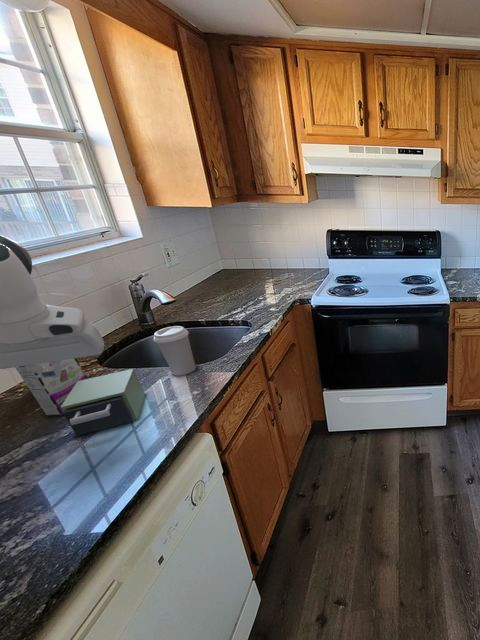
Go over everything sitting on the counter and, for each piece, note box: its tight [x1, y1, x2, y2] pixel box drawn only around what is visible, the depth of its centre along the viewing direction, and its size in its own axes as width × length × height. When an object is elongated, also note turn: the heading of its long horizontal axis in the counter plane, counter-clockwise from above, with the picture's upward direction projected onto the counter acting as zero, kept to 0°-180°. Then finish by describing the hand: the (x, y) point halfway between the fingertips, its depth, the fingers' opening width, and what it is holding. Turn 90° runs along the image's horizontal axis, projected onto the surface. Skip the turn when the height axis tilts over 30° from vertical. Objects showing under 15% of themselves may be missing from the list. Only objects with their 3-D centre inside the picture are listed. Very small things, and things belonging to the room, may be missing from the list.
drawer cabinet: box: [60, 368, 146, 427], centre depth 101 cm, size 15×13×9 cm
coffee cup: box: [152, 325, 197, 376], centre depth 121 cm, size 10×10×15 cm
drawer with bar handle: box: [63, 395, 133, 437], centre depth 97 cm, size 18×11×7 cm, turn 31°
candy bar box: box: [14, 358, 88, 416], centre depth 104 cm, size 11×5×16 cm, turn 0°
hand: (51, 375), depth 79 cm, fingers closed
